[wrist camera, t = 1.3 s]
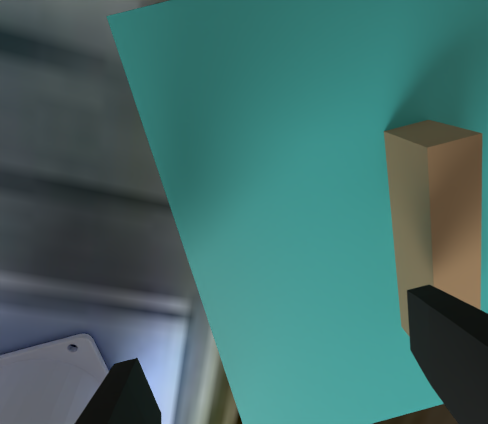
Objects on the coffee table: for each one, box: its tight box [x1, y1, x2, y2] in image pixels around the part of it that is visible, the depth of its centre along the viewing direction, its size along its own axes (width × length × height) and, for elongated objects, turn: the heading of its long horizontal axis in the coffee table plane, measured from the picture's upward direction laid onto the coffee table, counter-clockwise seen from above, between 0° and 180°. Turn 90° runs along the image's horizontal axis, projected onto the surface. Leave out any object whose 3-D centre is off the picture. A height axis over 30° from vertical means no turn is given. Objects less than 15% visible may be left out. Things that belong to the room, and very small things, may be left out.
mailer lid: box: [107, 0, 488, 424], centre depth 13 cm, size 14×18×3 cm
